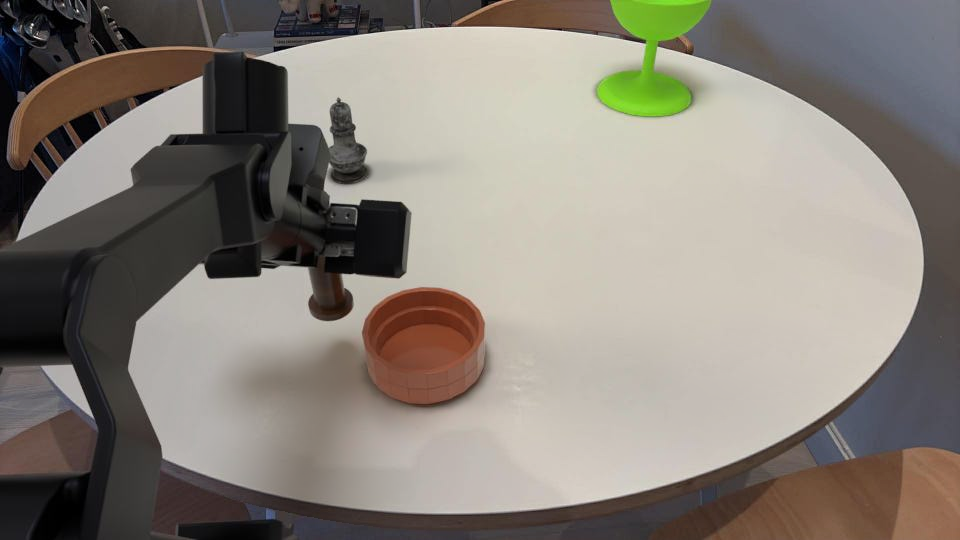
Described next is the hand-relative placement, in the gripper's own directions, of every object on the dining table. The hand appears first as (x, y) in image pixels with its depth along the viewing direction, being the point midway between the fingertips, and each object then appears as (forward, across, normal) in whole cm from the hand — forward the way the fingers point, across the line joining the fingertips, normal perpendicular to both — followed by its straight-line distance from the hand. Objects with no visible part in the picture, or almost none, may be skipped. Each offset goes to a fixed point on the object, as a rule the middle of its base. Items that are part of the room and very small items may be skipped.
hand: (326, 245), depth 67 cm
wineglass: (+54, -36, -35) cm, 74 cm away
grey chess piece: (+33, +8, -14) cm, 37 cm away
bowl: (+8, -9, +11) cm, 16 cm away
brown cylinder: (+4, 0, +6) cm, 7 cm away
